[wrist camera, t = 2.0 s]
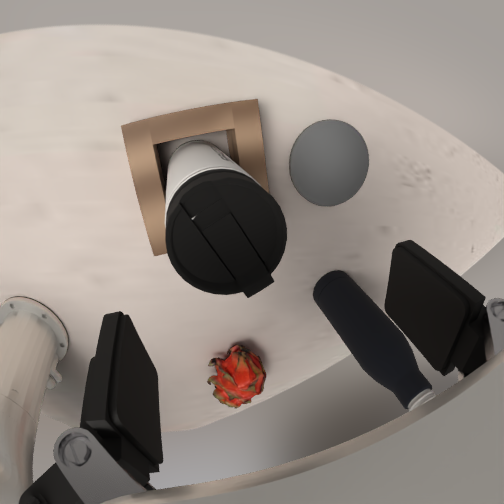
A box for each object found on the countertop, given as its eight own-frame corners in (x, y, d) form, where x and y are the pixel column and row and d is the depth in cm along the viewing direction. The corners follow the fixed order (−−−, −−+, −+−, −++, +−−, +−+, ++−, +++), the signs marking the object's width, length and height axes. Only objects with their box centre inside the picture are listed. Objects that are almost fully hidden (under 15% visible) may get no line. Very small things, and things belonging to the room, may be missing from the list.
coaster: (366, 197, 39) (368, 198, 38) (293, 212, 37) (294, 213, 37) (364, 117, 34) (367, 118, 33) (284, 123, 32) (286, 123, 31)
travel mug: (189, 207, 34) (215, 322, 16) (156, 161, 30) (137, 232, 13) (236, 177, 33) (312, 261, 16) (205, 128, 30) (254, 154, 13)
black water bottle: (313, 275, 42) (446, 452, 16) (351, 266, 43) (490, 416, 18) (312, 310, 45) (420, 476, 20) (348, 299, 47) (463, 445, 21)
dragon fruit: (220, 379, 50) (229, 323, 47) (265, 396, 48) (280, 340, 44) (197, 407, 42) (204, 348, 39) (248, 427, 40) (263, 369, 36)
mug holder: (259, 212, 36) (272, 228, 32) (155, 236, 34) (154, 256, 30) (245, 100, 30) (257, 98, 25) (128, 123, 27) (121, 125, 23)
